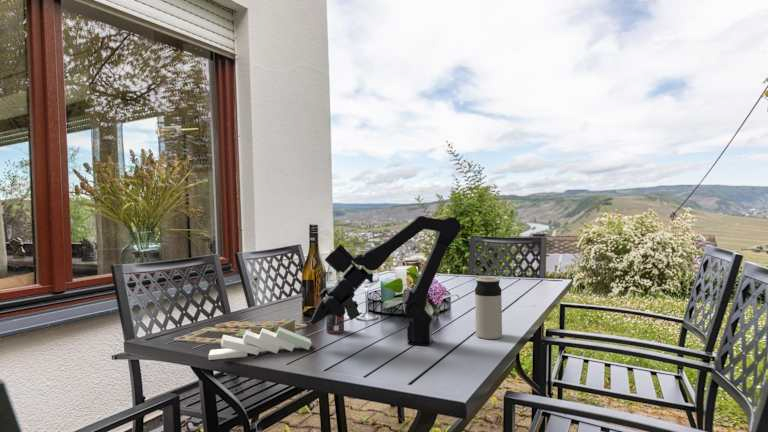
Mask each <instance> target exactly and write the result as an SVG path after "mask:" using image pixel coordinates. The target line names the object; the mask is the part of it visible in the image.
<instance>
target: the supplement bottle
mask: <svg viewBox="0 0 768 432" xmlns="http://www.w3.org/2000/svg"><path fill="white" fill-rule="evenodd" d="M325 321H326V322H325V325H326V326H325V328H326V333H328V334H333V335H335V334H341V333H342V334H343V332H344V331H345V314H344V315H343V316H342V317H341V318H340V317H339V316H337V315H328V316H326V317H325Z"/></svg>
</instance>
